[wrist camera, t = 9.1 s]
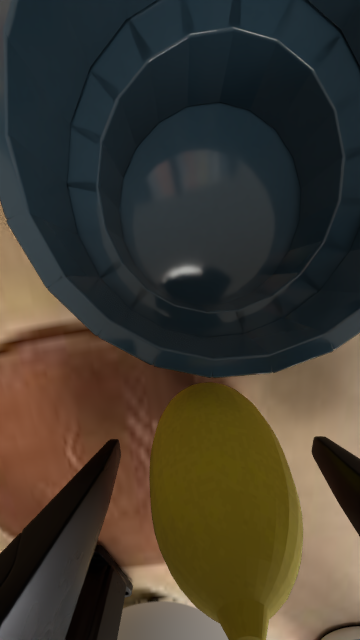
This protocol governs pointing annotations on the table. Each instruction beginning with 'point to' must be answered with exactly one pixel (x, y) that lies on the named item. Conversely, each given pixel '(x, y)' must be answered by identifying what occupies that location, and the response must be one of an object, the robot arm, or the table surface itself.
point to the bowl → (189, 173)
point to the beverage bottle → (344, 634)
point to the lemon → (225, 508)
